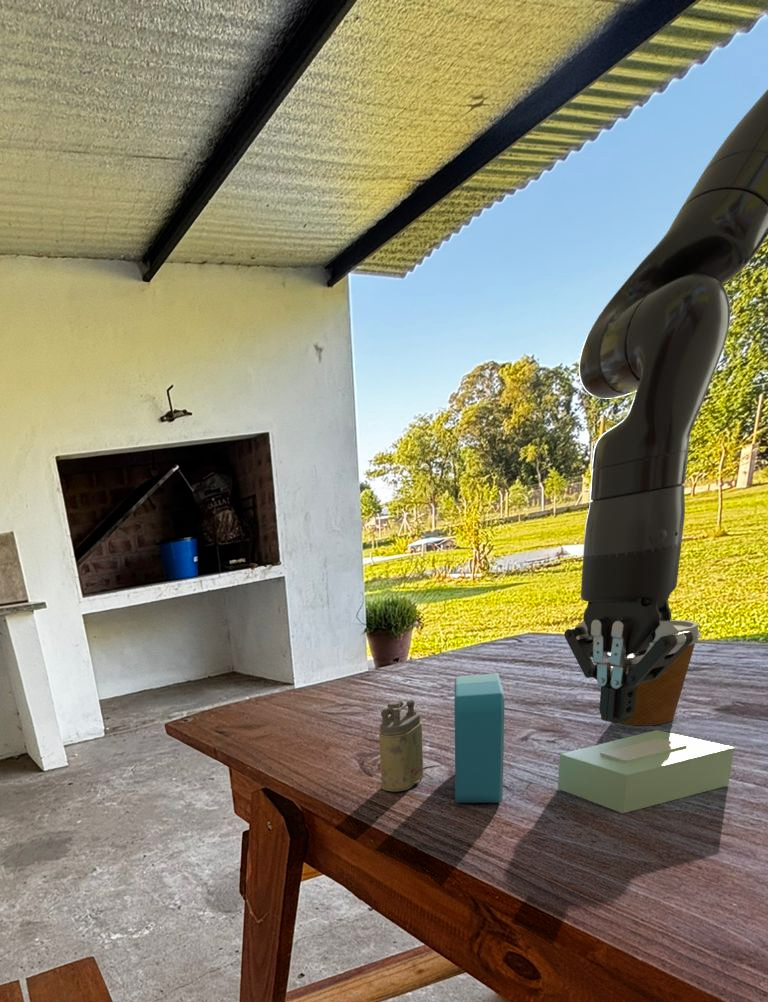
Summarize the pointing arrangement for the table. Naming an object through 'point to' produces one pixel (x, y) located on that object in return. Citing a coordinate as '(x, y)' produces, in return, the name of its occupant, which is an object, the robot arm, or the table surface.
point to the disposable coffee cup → (664, 685)
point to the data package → (479, 739)
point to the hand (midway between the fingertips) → (615, 720)
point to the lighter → (400, 747)
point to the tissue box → (644, 770)
